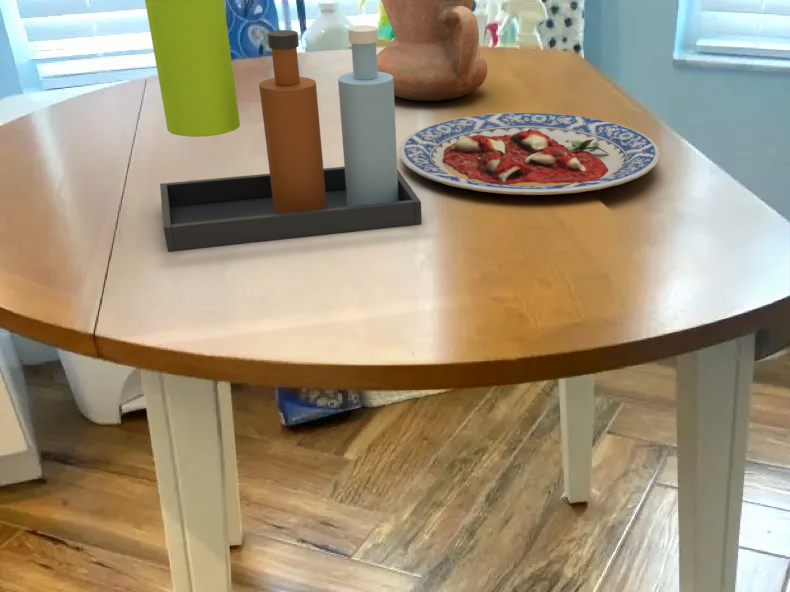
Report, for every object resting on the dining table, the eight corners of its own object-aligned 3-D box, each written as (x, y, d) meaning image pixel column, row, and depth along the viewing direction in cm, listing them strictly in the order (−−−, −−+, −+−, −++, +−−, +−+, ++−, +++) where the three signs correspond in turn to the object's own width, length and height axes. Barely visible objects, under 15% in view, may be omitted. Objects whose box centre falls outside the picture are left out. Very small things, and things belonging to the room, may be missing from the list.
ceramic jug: (348, 88, 124) (340, -34, 116) (444, 74, 130) (442, -44, 122) (417, 121, 111) (413, -14, 103) (520, 103, 118) (523, -25, 110)
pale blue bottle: (352, 217, 84) (339, 35, 75) (343, 199, 87) (329, 24, 79) (404, 211, 85) (396, 31, 76) (392, 195, 88) (384, 21, 80)
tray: (169, 260, 78) (163, 227, 77) (165, 213, 87) (159, 183, 85) (422, 232, 83) (421, 201, 81) (393, 191, 92) (392, 161, 90)
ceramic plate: (428, 226, 84) (427, 193, 82) (381, 142, 105) (379, 114, 103) (700, 201, 89) (705, 169, 87) (604, 125, 109) (606, 98, 108)
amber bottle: (278, 225, 82) (256, 40, 74) (271, 207, 86) (250, 29, 78) (331, 219, 83) (315, 36, 75) (322, 202, 87) (307, 25, 79)
